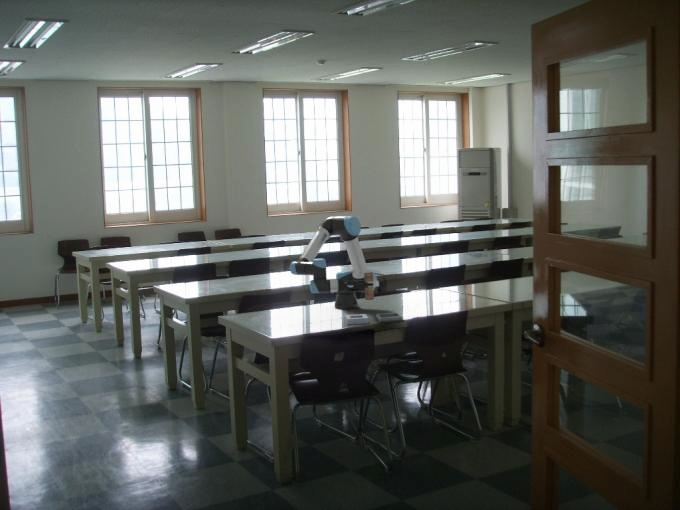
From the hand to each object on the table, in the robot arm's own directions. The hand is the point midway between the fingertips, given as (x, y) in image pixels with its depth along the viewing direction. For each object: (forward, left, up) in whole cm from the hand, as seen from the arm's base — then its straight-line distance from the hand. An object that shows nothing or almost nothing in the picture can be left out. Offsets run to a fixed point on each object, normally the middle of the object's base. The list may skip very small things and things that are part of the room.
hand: (378, 283), depth 427 cm
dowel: (0, -5, -9) cm, 10 cm away
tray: (-1, +6, -22) cm, 23 cm away
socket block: (-1, -13, -22) cm, 25 cm away
